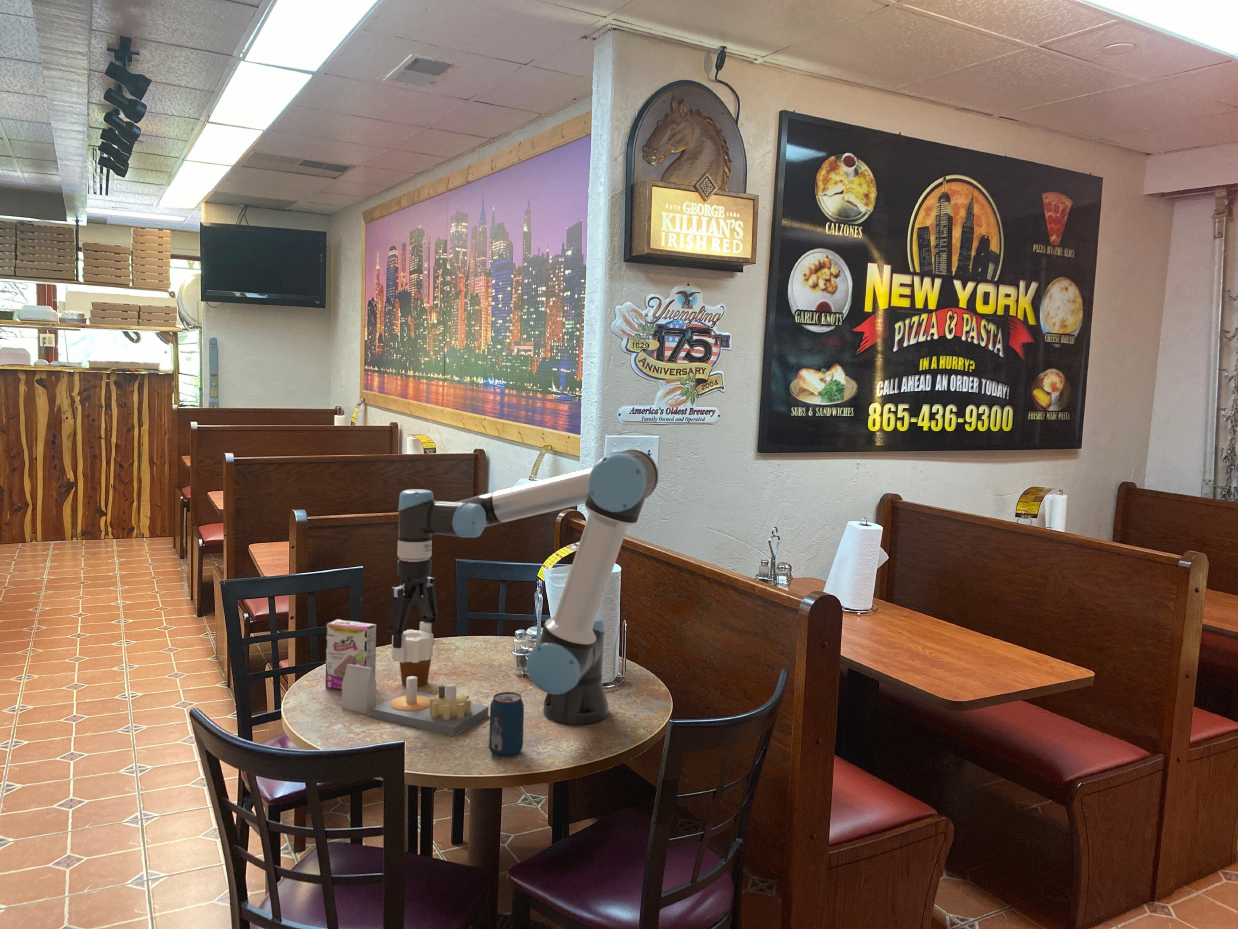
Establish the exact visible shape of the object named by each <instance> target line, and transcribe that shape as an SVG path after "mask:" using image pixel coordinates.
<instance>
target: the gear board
mask: <svg viewBox="0 0 1238 929" xmlns="http://www.w3.org/2000/svg"><path fill="white" fill-rule="evenodd" d="M405 687H406V688H405V691H404V692H403V693H400V694H399V695H396V696H394V697H392V698H390V699H388V700H387V701H384V702H382V703H380V704H378V705H376V707H374V708H372V711H370V712H371V713H370V714H371V718H374V719H377V720H382V721H386V722H390V723H395V724H399V725H404V726H408V727H412V728H416V729H421V730H425V729H427V730H426V731H429V730H431V731H430V732H433V731H436V732H435V733H438V732H440V733H439V734H442V733H444V734H443V735H446V734H448V735H447V736H451V735H452V737H455V736H457V735H458V734H460V733H462V732H463V731H465V730H466V728H467V729H468V728H470V727H471V726H473V725H475V724H476V723H478V722H479V721H481V720H483V719H484V718H486V717H488V716H489V709H490V705H489V706H488V705H483V704H478V703H473V702H472V698H470V695H469V694H467V693H459V692H458V691H457V684H453V683H449V684H446V685H439V686H438V693H436V694H431V693H426V692H421V691H418V687H417V677H415V676H410V677H407V683H406V686H405ZM469 726H470V727H469ZM464 729H465V730H464ZM462 730H463V731H462ZM461 731H462V732H461ZM459 732H460V733H459ZM456 734H457V735H456Z"/></svg>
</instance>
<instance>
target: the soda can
mask: <svg viewBox="0 0 1238 929" xmlns="http://www.w3.org/2000/svg"><path fill="white" fill-rule="evenodd" d="M489 709H490V710H489V737H488V740H489V741H488V749H489V751H490V752H491V755H492V756H493V755H494V756H493V757H495V758H498V759H503V758H504V759H507V758H508V759H513V758H515V757H517V756H519V755H520V753H521V751H522V750H523V746H524V744H523V743H524V720H525V719H524V716H525V715H524V714H525V704H524V702H523V699H522V695H521V694H519V693H517V692H513V691H504V692H499V693H498V692H497V693H495V694H494V695H493V699H492V701H491V703H490V705H489ZM508 759H507V760H508Z"/></svg>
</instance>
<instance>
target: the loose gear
mask: <svg viewBox="0 0 1238 929" xmlns="http://www.w3.org/2000/svg"><path fill="white" fill-rule="evenodd" d="M403 633H406V658H405V662H412V663H417V662H419V661H423V660H429V659H431V660H432V657H433V656H434V655H433V654H434V646H433V638H434V633H428V632H427V631H425V630H420V629H419V630H415V629H406V630H404V632H403ZM393 653H394V648H393V635H392V636H391V659H392V660H393Z"/></svg>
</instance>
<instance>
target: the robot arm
mask: <svg viewBox="0 0 1238 929" xmlns="http://www.w3.org/2000/svg"><path fill="white" fill-rule="evenodd" d="M658 482H659V470H658V467H657V464H656V462H655V461H654V460H653V458H652V457H651V456H650V455H648V454H647V453H646V452H644V451H642V450H639V449H626V450H622V451H615V452H610V453H609V454H606V455H605V456H603V457H601V458H600V459H599V460H598V461H597V462H596V463H595V464H594V465H593V467H589V468H585V469H582V470H581V469H580V470H577V471H574V472H569V473H565V474H562V475H561V474H560V475H557V476H554V477H553V476H552V477H549V478H545V479H541V480H540V479H539V480H535V481H532V482H529V483H525V484H521V485H518V486H517V485H516V486H513V487H509V488H505V489H500V490H495V491H493V492H489V493H481V494H478V495H475V496H472V497H469V498H465V499H461V500H458V501H444V500H436V499H435V497H434V493H433V491H432V490H429V489H418V488H416V489H413V488H412V489H405V490H403V491H401V492H400V493H399V500H398V509H397V512H398V536H397V537H398V538H397V555H396V556H397V557H398V559H397V565H396V566H397V568H396V569H397V571H396V573H397V576H399V577H400V584H399V586H397V587H395V586H392V587H391V589H390V594H391V595H390V596H391V600H390V604H389V605H390V606H389V611H388V617H387V624H386V628H385V629H386V632H387V633H391V634H392V636H393V648H394V653H393V659H392V660H393V662H398V663H400V662H402V663H404V662H405V658H406V633H403V632H404V631H405V629H406V624H407V622H408V618H409V616H410V612H411V608H412V606H413V605H414V604H415V602H416V604H417V607H418V611H419V613H420V618H421V620H422V621H420V622H419V631H420V630H425V631H427V632H428V633H432V632H433V630H432V629H433V623H437V621H438V620H437V619H438V617H439V609H438V601H437V592H436V585H437V584H436V582H437V579H436V577H431V574H432V567H433V566H432V562H433V560H432V559H431V557H432V555H433V554H432V552H433V551H432V549H433V548H432V544H433V543H432V541H433V535H439V536H448V537H449V536H451V537H460V538H464V539H465V538H466V539H467V538H479V537H480V536H481V535H482V533H483V532H484V530H485V528H487V527H490V526H491V527H492V526H494V525H495V526H496V525H499V524H502V523H507V522H511V521H515V520H519V519H523V518H528V517H533V516H537V515H541V514H545V513H549V512H554V511H558V510H563V509H567V508H572V507H576V506H581V505H584V508H585V509H586V512H587V513H588V517H587V520H586V522H585V526H584V529H583V532H582V535H581V537H580V540H579V542H578V546H577V549H576V552H575V555H574V558H573V561H572V563H571V567H570V571H569V573H568V576H567V579H566V581H565V585H564V588H563V591H562V593H561V596H560V599H559V602H558V604H557V608H556V611H555V613H554V616H552V617H550V618H548V619H546V620H545V623H544V624H543V628H542V630H541V634H540V636H539V639H538V642H537V645H535V646H534V647H533V648H532V649H531V651H530V652H529V654H528V657H527V661H526V670H527V673H528V677H529V678H530V680H531V683H533V684H534V686H535V687H537V688H538V689H539V690H540V691H542V692H544V693H546V696H545V697H544V702H543V708H542V709H543V710H542V712H543V715H544V716H545V717H546V718H547V719H549V720H551V721H554V722H556V723H559V724H565V725H578V726H579V725H590V724H596V723H598V722H601V721H603V720H605V719H606V718H607V716H608V715H609V703H608V700H607V695H606V692H605V688H604V684H603V663H604V642H605V641H604V639H605V636H604V635H605V625H604V624H605V623H604V621H603V620H602V619H601V618H600V617H597V616H598V613H599V610H600V607H601V604H602V602H603V600H604V599H603V598H604V597H605V593H606V590H607V587H608V585H609V581H610V578H611V576H612V573H613V570H614V567H615V563H616V561H617V558H618V555H619V554H620V553H619V552H620V551H621V546H622V544H623V541H624V539H625V535H626V532H627V530H628V528H629V527H631V526H634V525H636V524H637V522H638V520H639V516H640V514H641V511H642V508H643V506H644V503H645V500H646V499H648V497H650V496H651V495H652V494H653V493H654V491H655V490H656V487H657V485H658Z"/></svg>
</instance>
